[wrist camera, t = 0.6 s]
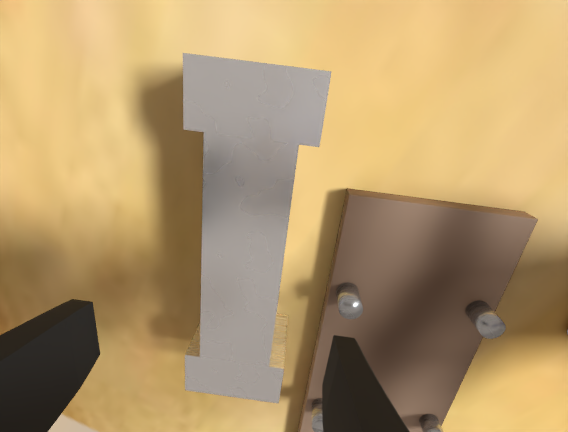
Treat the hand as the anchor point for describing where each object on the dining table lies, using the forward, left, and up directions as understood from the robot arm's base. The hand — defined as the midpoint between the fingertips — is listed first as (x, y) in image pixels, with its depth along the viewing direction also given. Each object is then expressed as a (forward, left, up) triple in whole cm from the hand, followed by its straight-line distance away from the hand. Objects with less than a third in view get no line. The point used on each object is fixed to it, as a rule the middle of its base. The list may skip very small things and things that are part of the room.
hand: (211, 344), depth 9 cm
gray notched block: (0, 0, -8) cm, 8 cm away
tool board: (-9, +7, -8) cm, 14 cm away
